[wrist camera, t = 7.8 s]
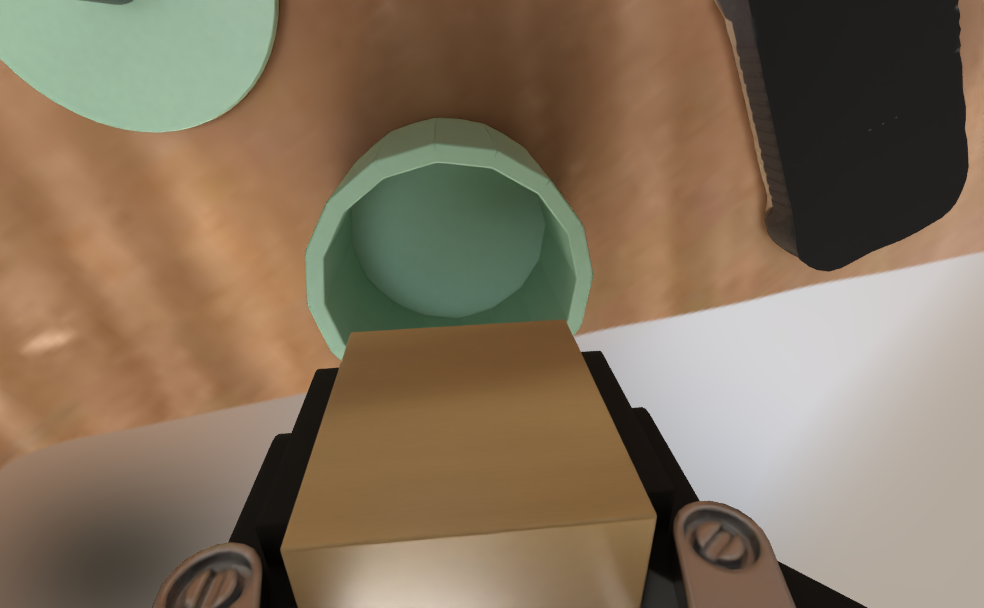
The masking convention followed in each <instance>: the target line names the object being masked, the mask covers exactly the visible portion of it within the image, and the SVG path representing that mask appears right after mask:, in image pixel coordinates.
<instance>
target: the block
mask: <svg viewBox="0 0 984 608" xmlns="http://www.w3.org/2000/svg"><path fill="white" fill-rule="evenodd" d="M656 519H657V515H656V512H655V510H654V508H653V506H652V504H651V502H650V499H649V497H648V495H647V493H646V491H645V489H644V487H643V484H642V482H641V480H640V478H639V476H638V474H637V472H636V469H635V467H634V465H633V463H632V461H631V459H630V457H629V454H628V452H627V450H626V448H625V446H624V444H623V442H622V439H621V437H620V435H619V433H618V431H617V429H616V427H615V424H614V422H613V420H612V418H611V416H610V414H609V412H608V410H607V407H606V405H605V403H604V401H603V399H602V397H601V395H600V392H599V390H598V388H597V386H596V384H595V382H594V380H593V377H592V375H591V373H590V371H589V369H588V367H587V365H586V362H585V360H584V358H583V356H582V354H581V352H580V350H579V347H578V345H577V343H576V341H575V339H574V337H573V335H572V332H571V330H570V328H569V326H568V324H567V322H566V320H547V321H530V322H514V323H497V324H481V325H464V326H447V327H431V328H414V329H398V330H381V331H365V332H352V333H350V336H349V339H348V342H347V346H346V349H345V352H344V355H343V358H342V361H341V364H340V367H339V370H338V373H337V376H336V379H335V382H334V385H333V389H332V392H331V395H330V398H329V401H328V404H327V407H326V410H325V413H324V416H323V419H322V422H321V425H320V428H319V432H318V435H317V438H316V441H315V444H314V447H313V450H312V453H311V456H310V459H309V462H308V465H307V468H306V471H305V475H304V478H303V481H302V484H301V487H300V490H299V493H298V496H297V499H296V502H295V505H294V508H293V511H292V514H291V518H290V521H289V524H288V527H287V530H286V533H285V536H284V539H283V542H282V545H281V548H280V550H281V554H282V558H283V561H284V564H285V568H286V571H287V574H288V577H289V581H290V584H291V587H292V590H293V594H294V597H295V600H296V604H297V607H298V608H641V603H642V598H643V592H644V586H645V581H646V575H647V570H648V564H649V559H650V553H651V547H652V542H653V536H654V531H655V525H656Z"/></svg>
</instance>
